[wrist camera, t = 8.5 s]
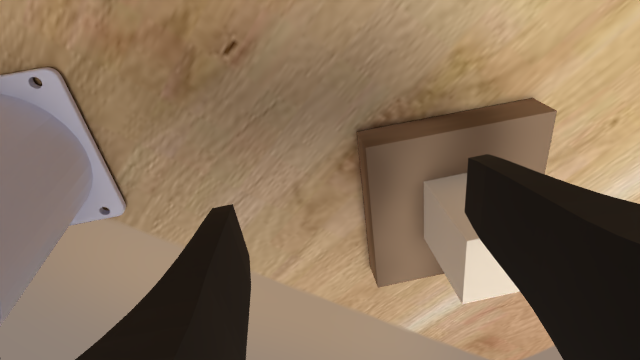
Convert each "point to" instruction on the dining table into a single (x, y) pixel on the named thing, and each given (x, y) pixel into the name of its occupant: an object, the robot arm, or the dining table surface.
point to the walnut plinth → (436, 174)
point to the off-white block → (460, 243)
